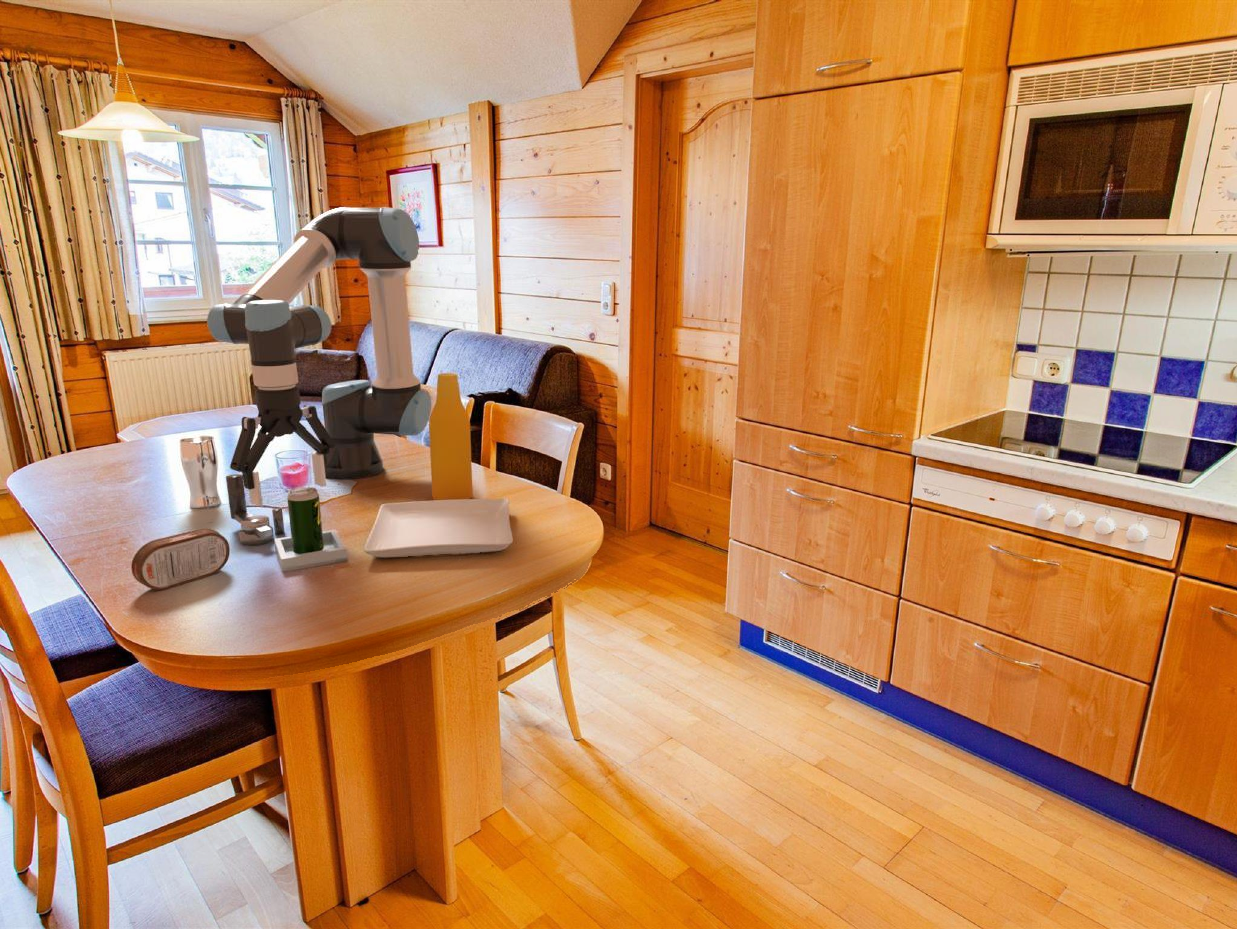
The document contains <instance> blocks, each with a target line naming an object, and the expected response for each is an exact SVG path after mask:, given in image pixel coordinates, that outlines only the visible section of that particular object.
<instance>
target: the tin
mask: <svg viewBox="0 0 1237 929" xmlns="http://www.w3.org/2000/svg"><path fill="white" fill-rule="evenodd" d="M230 550H231V549H230V543H229V541H228V540H227V539H226V537H225V536H224V535H222V534H221V533H220V532H218V531H217V530H215V529H212V528H207V527H204V528H203V527H201V528H197V529H194V530H190V531H186V532H182V533H178V534H173V535H170V536H169V535H168V536H166V537H165V536H164V537H161V538H157V539H153V540H151V541H149V542H147V543H145V544H144V545H142V546H141V547H140V548H139V549H138V550H137V551H136V553H135V554H134V556H133V558H132V560H131V561H132V562H131V568H130V569H131V573H132V576H133V577H134V579H135V581H137V582H139V583H140V584H142V585H143V586H144V587H147V588H149V589H151V590H156V591H157V590H160V591H161V590H167V589H169V588H174V587H176V586H177V587H178V586H180V585H183V584H187V583H191V582H193V581H196V580H200V579H204V578H206V577H210V576H213V575H215V574H217V573H219V571H221V570H222V569H223V568H224V567H225V566H226V564H227V563H228V560H229V558H230V552H231V551H230Z"/></svg>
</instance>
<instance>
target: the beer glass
mask: <svg viewBox="0 0 1237 929" xmlns="http://www.w3.org/2000/svg"><path fill="white" fill-rule="evenodd" d="M215 442H216V441H215V438H214V436H212V435H194V436H188V437H183V438H181V439H180V440H179V454H180V461H181V466H182V470H183V473H184V476H185V480H186V481H187V484H188V488H189V493H190V494H189V498H190V500H189V507H190V508H191V509H196V510H197V509H199V510H203V509H205V510H206V509H211V508H214V507H217V506H220V505H221V503H222V500H221V497H220V495H219V491H218V486H217V485H218V470H219V466H218V465H219V464H218V461H219V459H218V453H217V452H218V451H217V447H216V443H215Z"/></svg>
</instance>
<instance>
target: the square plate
mask: <svg viewBox="0 0 1237 929" xmlns="http://www.w3.org/2000/svg"><path fill="white" fill-rule="evenodd" d="M509 512H510V501H509V499H508V498H505V497H503V498H471V499H460V500H435V501H434V500H420V501H408V502H391V503H390V502H389V503H384V504H383V503H382V504H381V505H380V507H379V510H378V512H377V515H376V518H375V521H374V524H373V526H372V528H371V530H370V533H369V535H368V537H367V540H366V542H365V545H364V547H363V551H364V553H366V554H368V555H369V556H372V557H375V558H409V557H408V556H414V557H424V556H423V555H433V556H439V555H438V554H452V555H460V554H459V553H473V554H480V552H482V553H493V552H498V551H499V552H500V551H503V550H505V549H507V548H508V547H509V546H511V545H512V544H513V541H514V538H513V533H512V527H511V523H510V513H509Z"/></svg>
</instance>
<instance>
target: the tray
mask: <svg viewBox="0 0 1237 929" xmlns="http://www.w3.org/2000/svg"><path fill="white" fill-rule="evenodd" d="M322 533H323V543H324V549H323V550H322V551H316V552H310V553H304V554H298V555H295V554H294V552H293V546H292V537H291V535H290V536H285V537H278V538H274V539H273V540H274V542H273V543H274V548H275V549H274V550H275V553H276V556H277V557H276V558H277V560H278V562H279V565H280V568H281V571H282V572H283V573H285V572H289V571H296V570H300V569H306V568H308V569H309V568H312V567H313V568H314V567H319V566H325V565H330V564H336V563H340V562H341V563H342V562H347V561H348V555H347V554H348V553H347V548H346V545H345V544H344V542H343V540H342V539H341V537H340V535H339V533H338V532H337V530H336V529H331V530H330V529H329V530H322Z"/></svg>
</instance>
